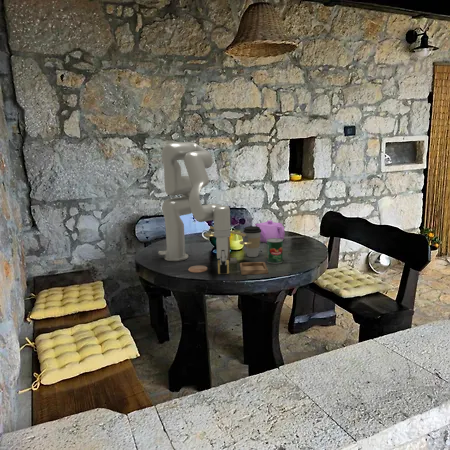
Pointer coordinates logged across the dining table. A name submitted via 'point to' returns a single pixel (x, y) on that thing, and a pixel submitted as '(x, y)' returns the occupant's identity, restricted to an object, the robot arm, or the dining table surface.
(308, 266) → the dining table surface
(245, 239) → the balance
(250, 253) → the coffee cup
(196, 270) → the terracotta dish
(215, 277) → the dining table surface
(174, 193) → the robot arm
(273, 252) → the canned tomato
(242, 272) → the walnut tray
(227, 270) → the ochre block
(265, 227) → the teakettle
